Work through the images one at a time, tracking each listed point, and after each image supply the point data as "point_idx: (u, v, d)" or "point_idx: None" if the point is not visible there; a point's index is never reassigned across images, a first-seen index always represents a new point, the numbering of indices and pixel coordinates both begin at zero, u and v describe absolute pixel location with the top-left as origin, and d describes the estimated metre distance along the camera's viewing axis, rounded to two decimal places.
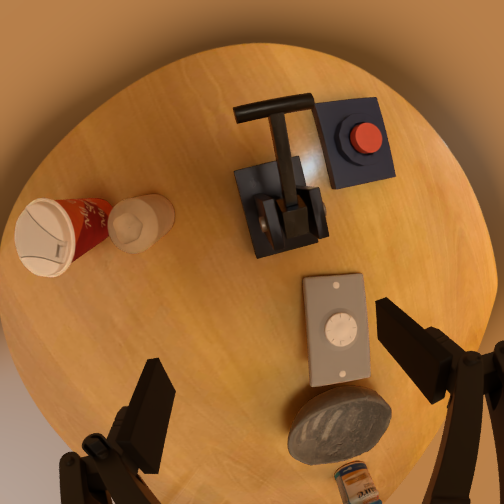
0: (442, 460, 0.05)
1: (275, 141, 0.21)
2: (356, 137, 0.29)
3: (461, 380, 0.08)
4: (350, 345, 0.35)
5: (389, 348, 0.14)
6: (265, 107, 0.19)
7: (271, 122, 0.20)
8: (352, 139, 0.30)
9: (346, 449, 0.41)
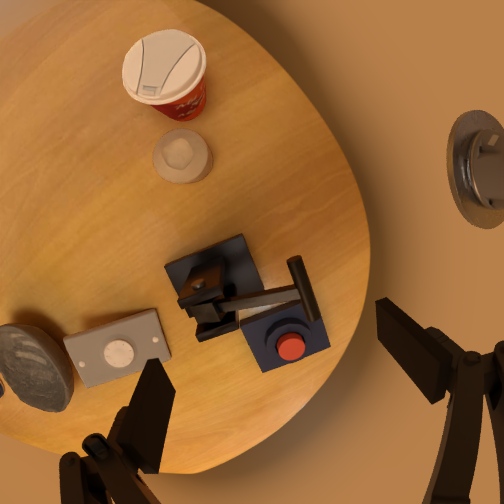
0: (442, 460, 0.05)
1: (273, 293, 0.25)
2: (289, 339, 0.36)
3: (461, 380, 0.08)
4: (107, 364, 0.35)
5: (389, 348, 0.14)
6: (303, 285, 0.24)
7: (290, 289, 0.24)
8: (287, 335, 0.37)
9: (14, 377, 0.35)
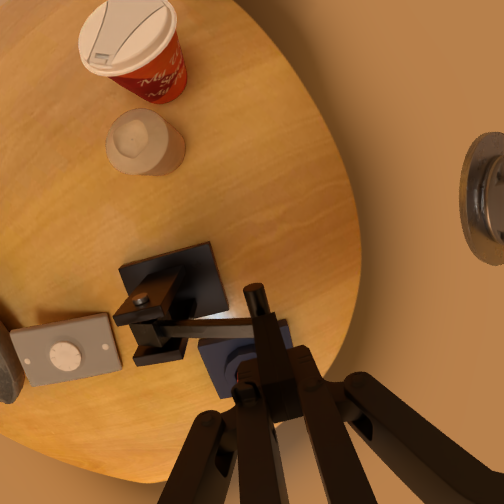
0: (326, 486, 0.06)
1: (224, 326, 0.19)
2: None
3: (309, 408, 0.09)
4: (53, 365, 0.28)
5: None
6: None
7: (245, 324, 0.19)
8: None
9: None
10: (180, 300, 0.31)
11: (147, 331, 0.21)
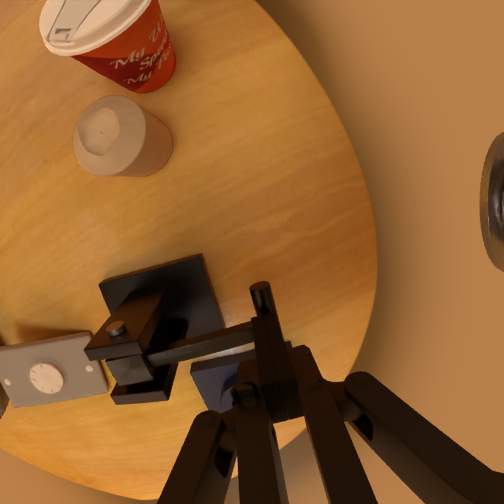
0: (327, 486, 0.06)
1: (230, 334, 0.18)
2: None
3: (309, 407, 0.09)
4: (34, 387, 0.23)
5: None
6: None
7: None
8: None
9: None
10: (169, 321, 0.27)
11: (133, 365, 0.17)
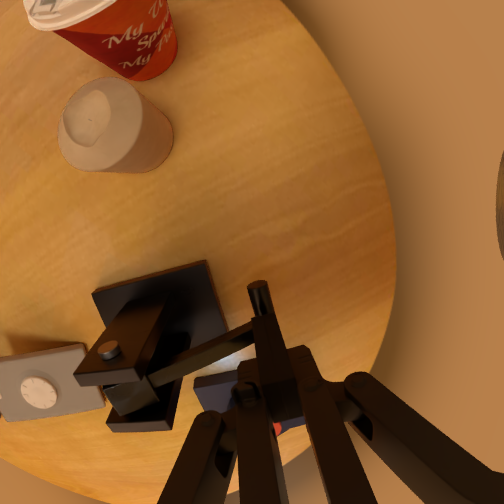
0: (326, 486, 0.06)
1: (234, 337, 0.17)
2: None
3: (309, 408, 0.09)
4: (27, 401, 0.20)
5: None
6: None
7: None
8: None
9: None
10: (169, 334, 0.24)
11: (137, 388, 0.14)
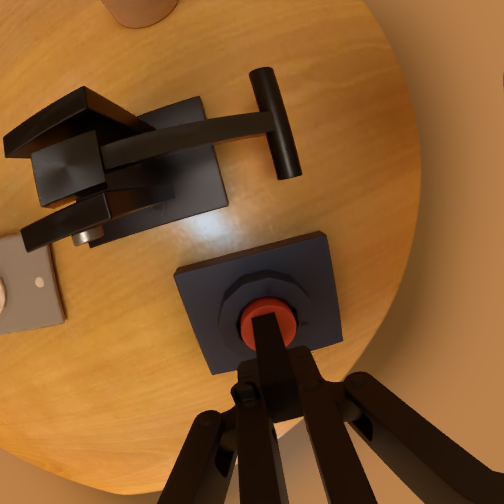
0: (326, 486, 0.06)
1: (231, 116, 0.12)
2: (266, 307, 0.18)
3: (309, 408, 0.09)
4: None
5: None
6: (281, 105, 0.13)
7: (259, 112, 0.13)
8: (262, 299, 0.19)
9: None
10: None
11: (78, 151, 0.09)
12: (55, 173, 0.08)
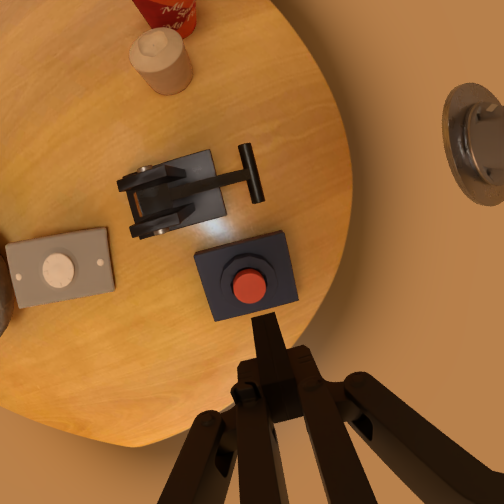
0: (326, 486, 0.06)
1: (228, 173, 0.26)
2: (247, 274, 0.31)
3: (309, 408, 0.09)
4: (44, 282, 0.29)
5: None
6: (254, 164, 0.27)
7: (242, 169, 0.27)
8: (246, 270, 0.32)
9: None
10: (179, 205, 0.32)
11: (160, 192, 0.23)
12: (149, 202, 0.22)
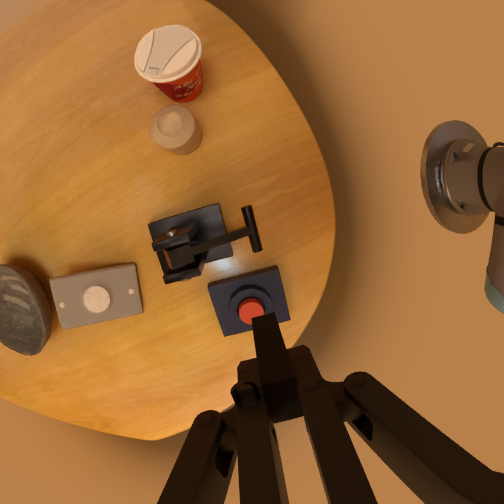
0: (326, 486, 0.06)
1: (234, 231, 0.35)
2: (250, 303, 0.41)
3: (309, 408, 0.09)
4: (84, 308, 0.38)
5: None
6: (254, 222, 0.36)
7: (245, 227, 0.36)
8: (248, 299, 0.41)
9: None
10: None
11: (184, 251, 0.32)
12: (177, 259, 0.32)
